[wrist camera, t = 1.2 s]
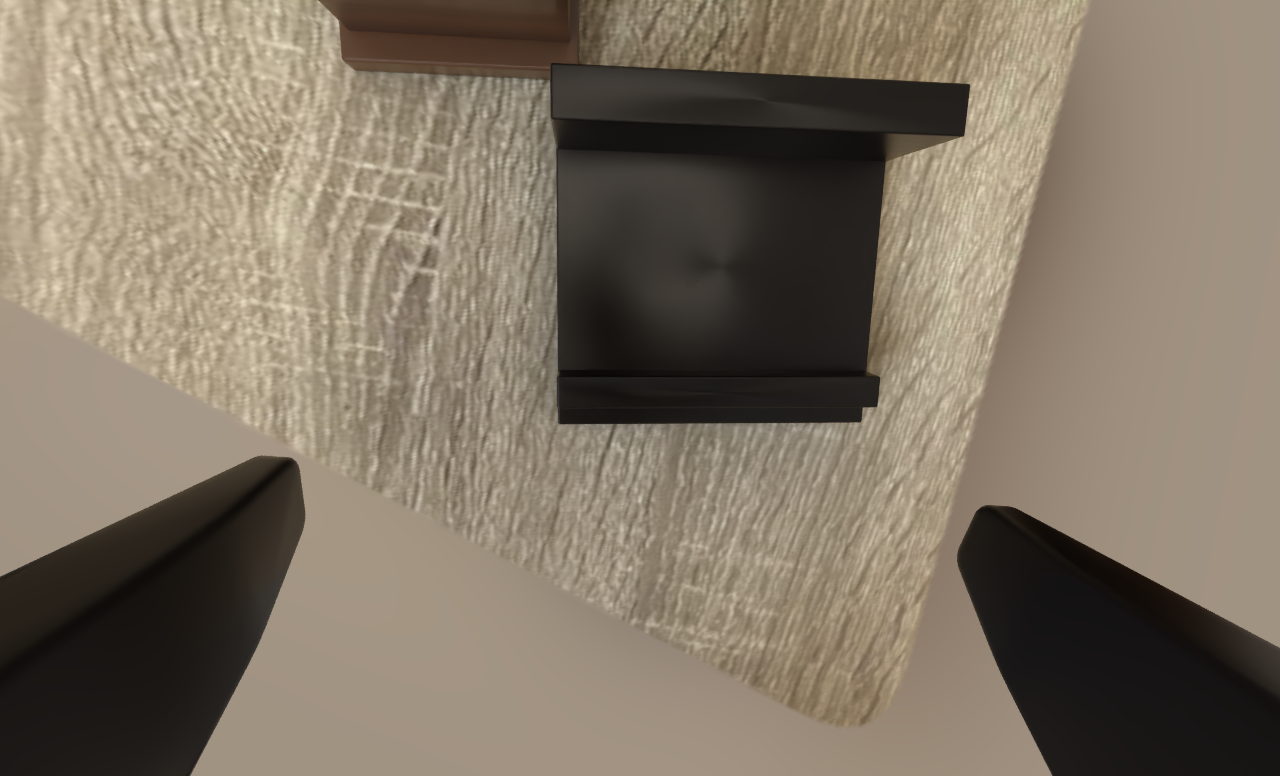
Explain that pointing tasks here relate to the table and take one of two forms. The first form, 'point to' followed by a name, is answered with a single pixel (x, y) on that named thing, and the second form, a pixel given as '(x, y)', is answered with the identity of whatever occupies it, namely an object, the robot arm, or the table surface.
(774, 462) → the table surface
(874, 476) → the table surface
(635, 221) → the clock rack
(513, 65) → the clock
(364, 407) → the table surface
